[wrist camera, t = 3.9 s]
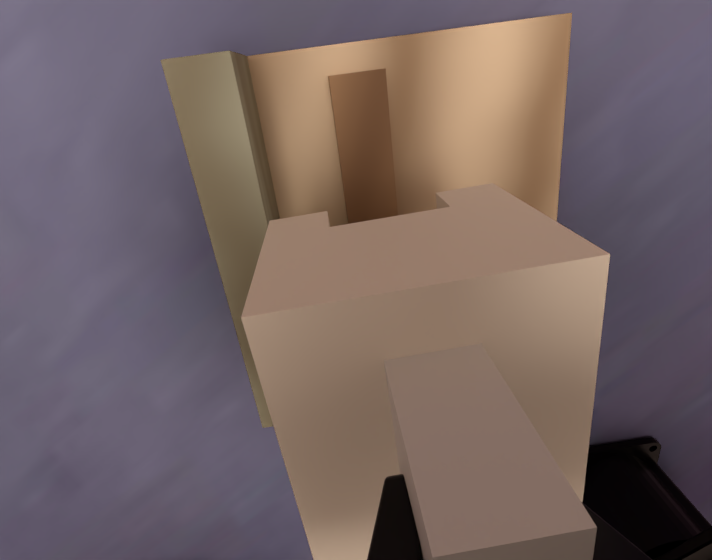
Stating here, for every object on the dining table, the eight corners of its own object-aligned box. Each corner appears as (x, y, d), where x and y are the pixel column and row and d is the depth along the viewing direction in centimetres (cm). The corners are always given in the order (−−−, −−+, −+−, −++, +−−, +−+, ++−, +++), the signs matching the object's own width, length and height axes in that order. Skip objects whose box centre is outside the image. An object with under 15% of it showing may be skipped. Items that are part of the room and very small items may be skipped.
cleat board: (552, 18, 18) (634, -4, 13) (534, 320, 23) (586, 378, 19) (201, 64, 17) (160, 59, 13) (273, 359, 23) (262, 427, 19)
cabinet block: (492, 183, 14) (840, 393, 5) (495, 386, 17) (698, 733, 8) (269, 220, 14) (184, 510, 5) (317, 417, 17) (322, 806, 8)
